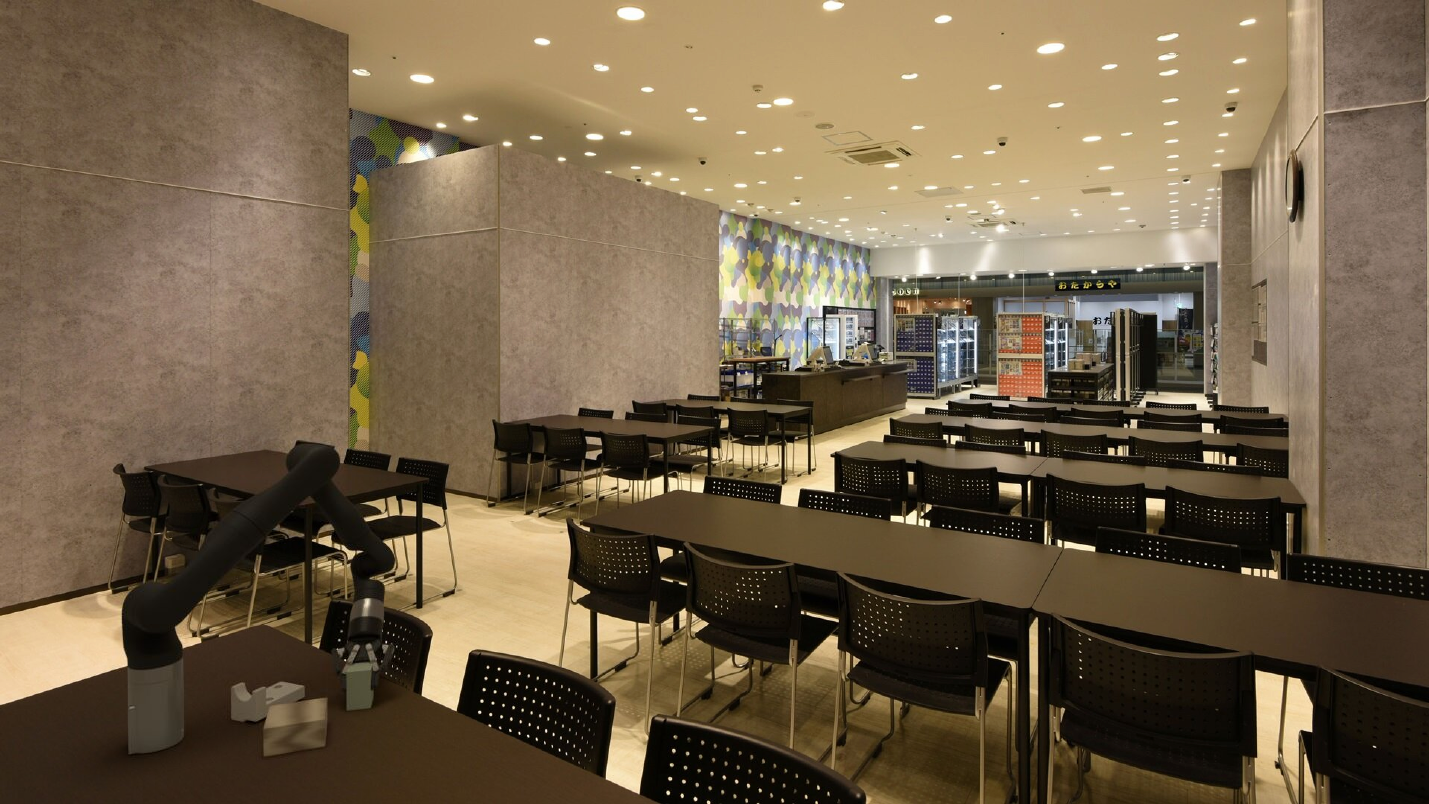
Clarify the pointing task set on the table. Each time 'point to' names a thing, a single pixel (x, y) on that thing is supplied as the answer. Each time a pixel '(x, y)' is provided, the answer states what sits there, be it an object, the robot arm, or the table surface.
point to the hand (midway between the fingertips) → (359, 690)
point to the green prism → (359, 686)
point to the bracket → (262, 699)
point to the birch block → (295, 727)
